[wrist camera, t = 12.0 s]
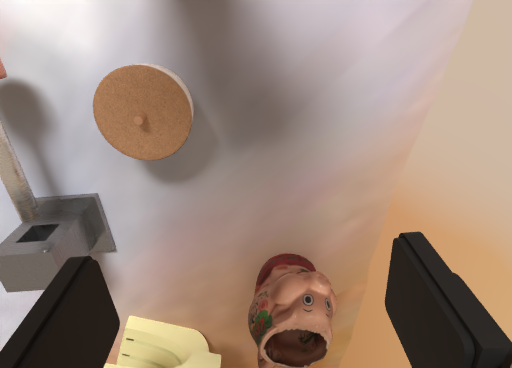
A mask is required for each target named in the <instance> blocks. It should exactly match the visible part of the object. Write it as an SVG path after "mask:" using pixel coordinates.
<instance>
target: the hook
mask: <svg viewBox="0 0 512 368" xmlns="http://www.w3.org/2000/svg"><path fill="white" fill-rule="evenodd" d="M6 77H7V74H6V71H5V69H4V66H3V64H2V61H1V59H0V79H3V78H6ZM0 177H1V180H2V182H3V184H4V186H5V188H6V190H7V192H8V194H9V196H10V198H11V200H12V203H13V205H14V207H15V209H16V211H17V213H18V215H19V217H20V219H21V221H22V222H24V223H26V222H32V221H34V220H37V219H38V218H40V217H41V216H42V213H41V211H40V209H39V206H38V204H37V202H36V199H35V197H34V195H33V193H32V190H31V188H30V186H29V183H28V181H27V179H26V177H25V174H24V172H23V170H22V168H21V165H20V163H19V161H18V158H17V156H16V154H15V152H14V149H13V147H12V145H11V142H10V140H9V138H8V136H7V133H6V131H5V129H4V126H3V124H2V122H1V120H0Z"/></svg>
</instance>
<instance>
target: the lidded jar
mask: <svg viewBox="0 0 512 368" xmlns="http://www.w3.org/2000/svg"><path fill="white" fill-rule="evenodd" d="M193 111H194V110H193V102H192V98H191V95H190V93H189V90H188V89H187V87H186V85H185V84H184V83H183V81H182V80H181V79H180V78H179V77H178V76H177V75H176V74H174V73H173V72H172V71H170V70H168V69H166V68H164V67H162V66H158V65H155V64H149V63H140V64H133V65H129V66H124V67H121V68H119V69H116V70H114V71H113V72H111V73H109V74H108V75H107V76H106V77H105V78H104V79H103V80H102V81H101V82H100V84H99V85H98V87H97V89H96V92H95V95H94V101H93V113H94V117H95V121H96V123H97V126H98V128H99V130H100V132H101V133H102V135H103V136H104V138H105V139H106V140H107V141H108V142H109V143H110V144H111V145H112V146H113V147H114V148H116V149H117V150H118V151H120V152H122V153H123V154H125V155H127V156H130V157H132V158H136V159H140V160H158V159H162V158H165V157H168V156H170V155H172V154H173V153H175V152H176V151H177V150H179V149H180V148H181V146H182V145H183V144H184V142H185V141H186V139H187V137H188V135H189V133H190V129H191V125H192V121H193Z"/></svg>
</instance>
